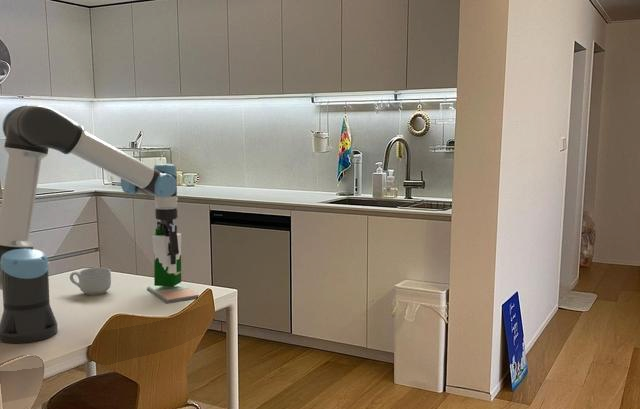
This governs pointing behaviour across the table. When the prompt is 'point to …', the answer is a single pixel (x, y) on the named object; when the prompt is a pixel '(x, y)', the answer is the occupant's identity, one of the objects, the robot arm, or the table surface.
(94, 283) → the teacup
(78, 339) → the table surface
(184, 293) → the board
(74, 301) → the table surface
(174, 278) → the soya milk
